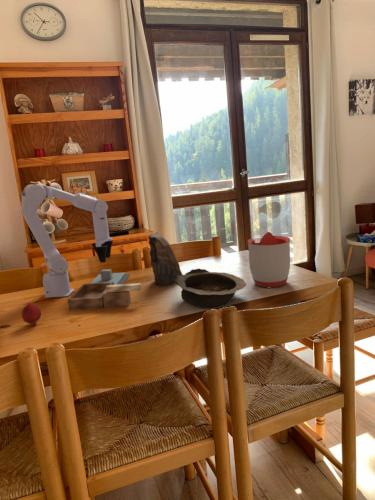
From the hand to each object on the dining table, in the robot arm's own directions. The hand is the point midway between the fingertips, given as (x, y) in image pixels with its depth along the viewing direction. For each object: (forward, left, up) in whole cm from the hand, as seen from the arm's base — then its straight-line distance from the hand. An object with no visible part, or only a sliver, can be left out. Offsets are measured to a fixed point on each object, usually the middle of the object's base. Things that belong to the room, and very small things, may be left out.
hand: (105, 259), depth 165 cm
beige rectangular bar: (+13, -28, -5) cm, 31 cm away
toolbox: (+4, -22, -10) cm, 25 cm away
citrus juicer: (+66, -13, -10) cm, 68 cm away
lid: (0, 0, -10) cm, 10 cm away
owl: (+26, -4, -10) cm, 28 cm away
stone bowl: (+44, -28, -10) cm, 53 cm away
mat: (0, 0, -10) cm, 10 cm away
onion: (-14, -42, -10) cm, 45 cm away
